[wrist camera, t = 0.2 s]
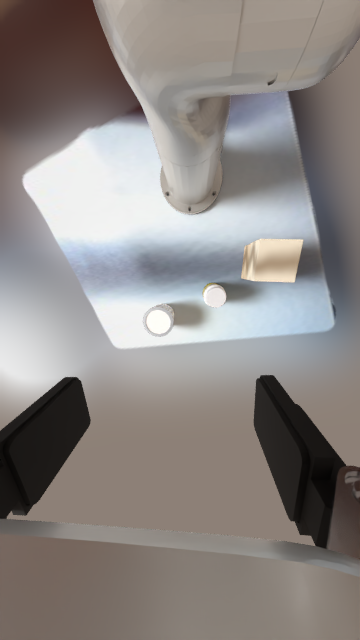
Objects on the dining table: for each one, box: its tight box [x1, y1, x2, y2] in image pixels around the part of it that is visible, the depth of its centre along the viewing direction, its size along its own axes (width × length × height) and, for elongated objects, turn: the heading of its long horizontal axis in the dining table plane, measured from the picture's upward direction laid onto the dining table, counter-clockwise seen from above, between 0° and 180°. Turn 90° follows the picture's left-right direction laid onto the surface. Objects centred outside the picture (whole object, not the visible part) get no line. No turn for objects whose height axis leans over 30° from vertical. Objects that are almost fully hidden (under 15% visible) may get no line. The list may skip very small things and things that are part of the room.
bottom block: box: [241, 244, 251, 280], centre depth 38 cm, size 7×7×5 cm
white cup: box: [143, 304, 174, 337], centre depth 42 cm, size 7×7×7 cm
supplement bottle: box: [202, 283, 226, 308], centre depth 39 cm, size 5×5×8 cm
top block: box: [247, 239, 303, 282], centre depth 33 cm, size 7×7×5 cm
